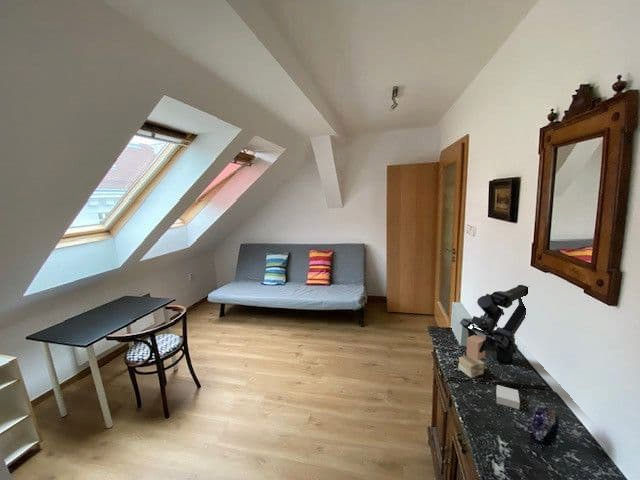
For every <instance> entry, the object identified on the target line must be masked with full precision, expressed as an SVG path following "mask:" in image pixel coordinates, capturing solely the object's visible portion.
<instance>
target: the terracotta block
mask: <svg viewBox="0 0 640 480" xmlns="http://www.w3.org/2000/svg"><path fill="white" fill-rule="evenodd" d="M484 341H485V339H483V338H481V337H479V336H477V335H473V336H470V337H468V338H467V347H466V356H467V355H468V356H470V357H472V358H473V359H475V360H477V361H478V360H481V359H483V358H485V357H486V350H485V351H483V352H482V353H480V352H479V351H480V348H481V346H482V345H483V343H484Z"/></svg>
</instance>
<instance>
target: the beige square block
mask: <svg viewBox="0 0 640 480" xmlns="http://www.w3.org/2000/svg"><path fill="white" fill-rule="evenodd" d="M459 364H461V365H462V366H463V367H464V368H465V369H467V370H468V371H469V372H470V373H471V372H475V371H479V370H483V369H484V370H485V362H483V361H482V360H481V359H480V360H478V361H477V360H475V359H473V358H472V357H470V356H468V355H467V354H466V355H464V356H459V357H458V365H459Z"/></svg>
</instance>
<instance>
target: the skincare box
mask: <svg viewBox="0 0 640 480" xmlns="http://www.w3.org/2000/svg"><path fill="white" fill-rule="evenodd" d="M450 318H451V319H450V328H452V329H451V330H452V332H453V334H454V336H455V338H456V340H457V342H458V344H459V347H465V348H467V338H468V330H467V329H465V328H464V327H463V326H462V325H461V324H460V322H461V320H463V319H465V320H468V321H470V322H472V319H473V317H472V315H471V314H470V313H469V311H468V310H467V308H466V307H465V306H464V304H463V303H462V302H459V301H457V302H456V301H452V303H451V315H450Z"/></svg>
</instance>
